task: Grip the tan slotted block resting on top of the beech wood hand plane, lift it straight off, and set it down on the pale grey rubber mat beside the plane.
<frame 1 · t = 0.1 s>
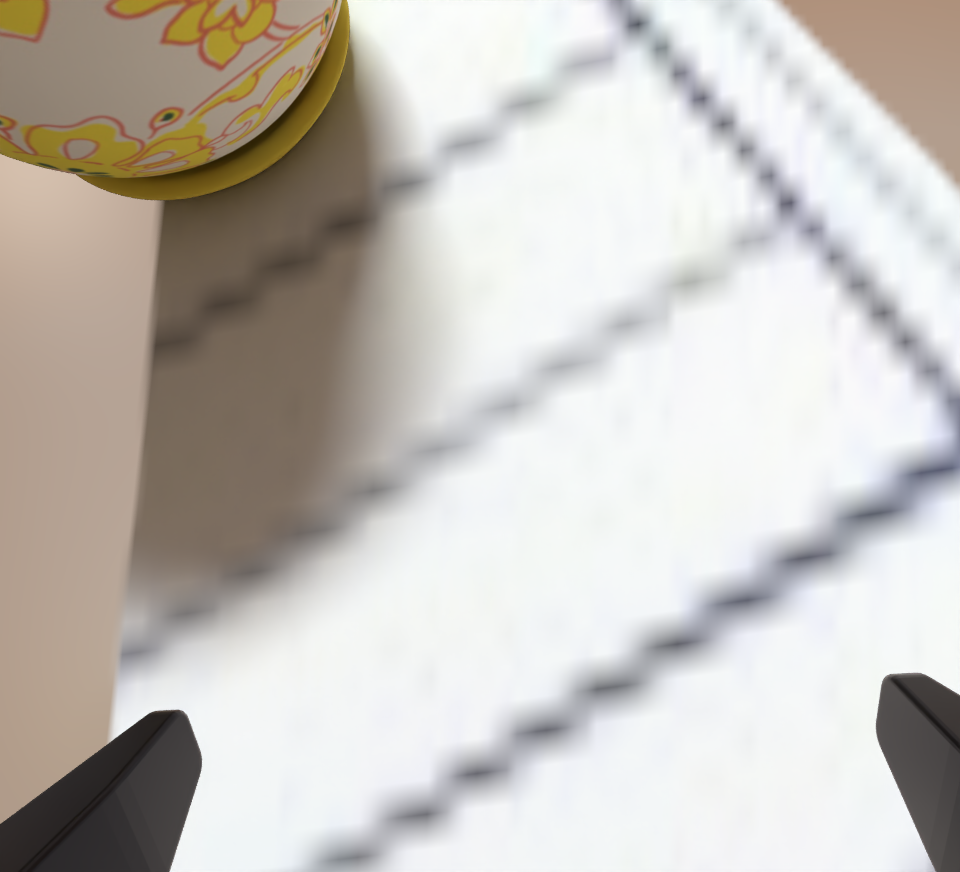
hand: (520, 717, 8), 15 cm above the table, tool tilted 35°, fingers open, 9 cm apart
flowerpot: (204, 72, 29), on the table
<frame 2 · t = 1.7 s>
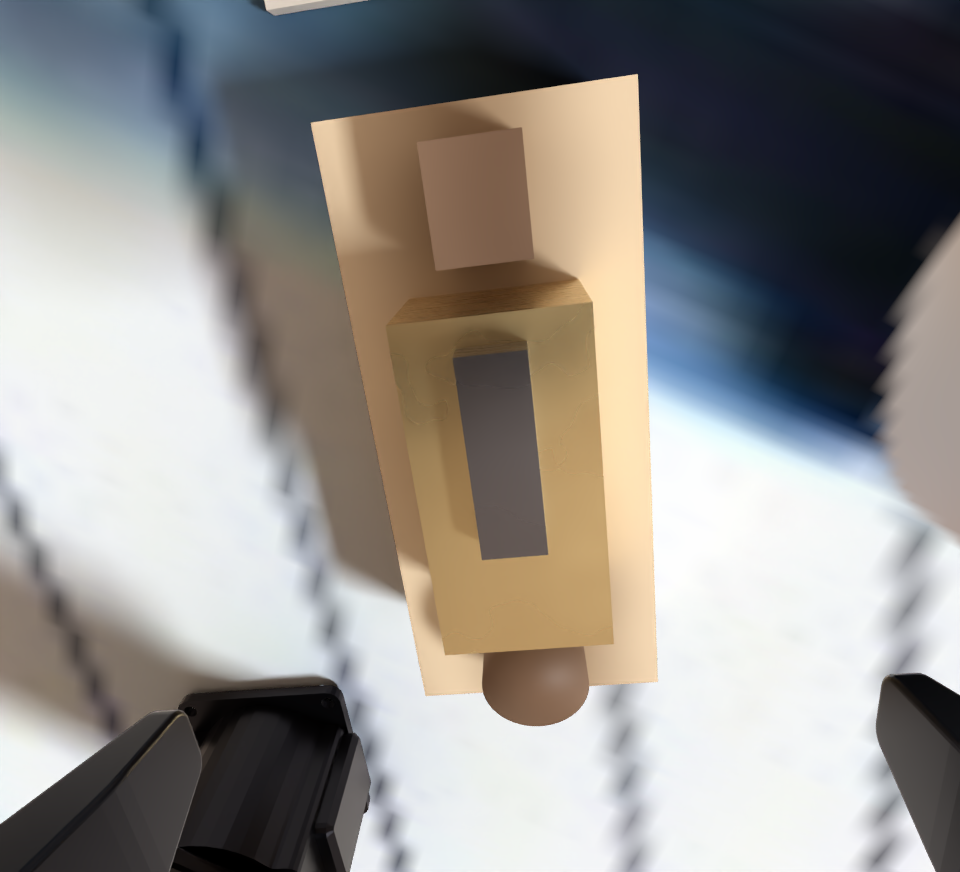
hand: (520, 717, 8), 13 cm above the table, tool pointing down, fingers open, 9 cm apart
tan slotted block: (511, 445, 17), point 4 cm above the table, touching plane body
plane body: (511, 396, 20), on the table
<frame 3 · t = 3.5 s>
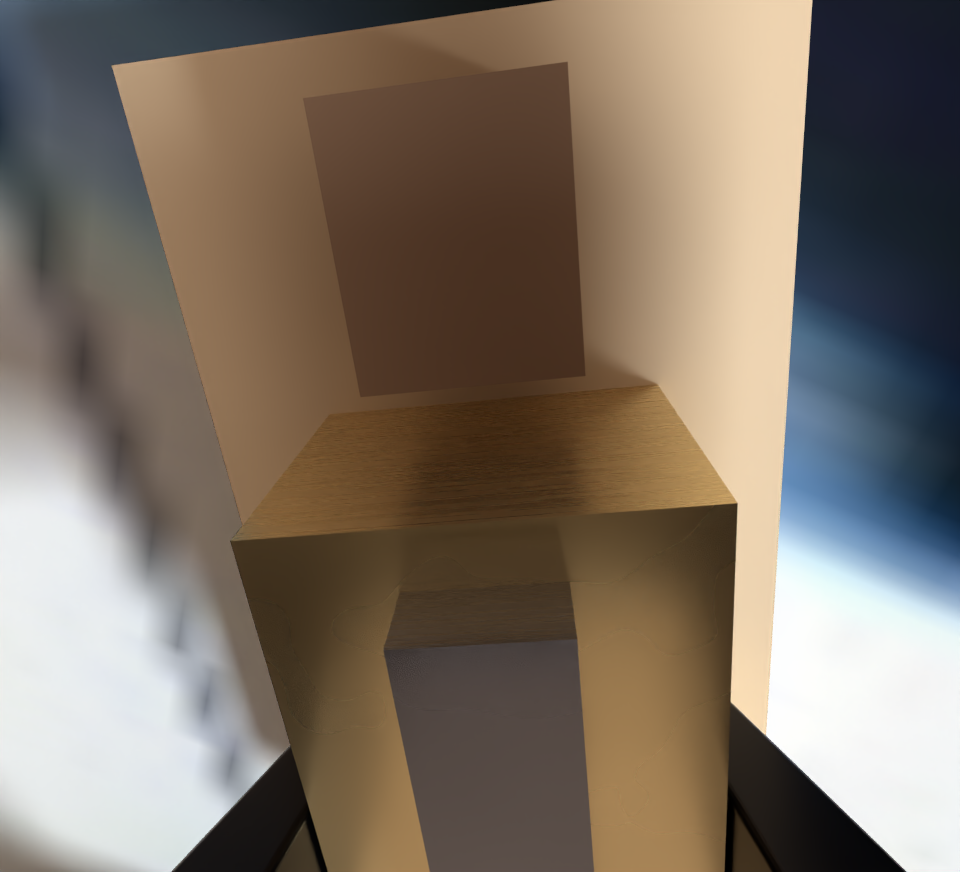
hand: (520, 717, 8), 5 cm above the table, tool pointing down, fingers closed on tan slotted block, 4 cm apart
tan slotted block: (519, 662, 9), point 4 cm above the table, touching gripper, plane body
plane body: (518, 523, 13), on the table
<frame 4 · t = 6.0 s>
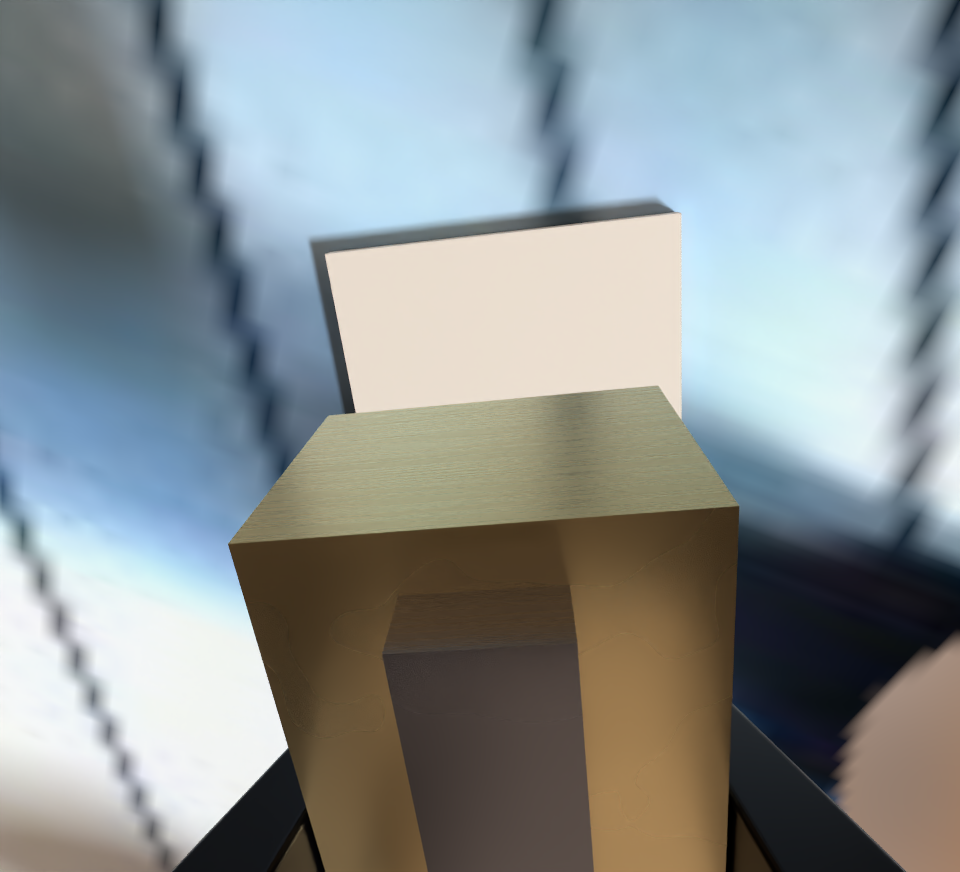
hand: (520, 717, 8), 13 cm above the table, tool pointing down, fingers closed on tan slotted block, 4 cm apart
mat: (515, 396, 20), on the table
tan slotted block: (519, 664, 9), point 12 cm above the table, touching gripper
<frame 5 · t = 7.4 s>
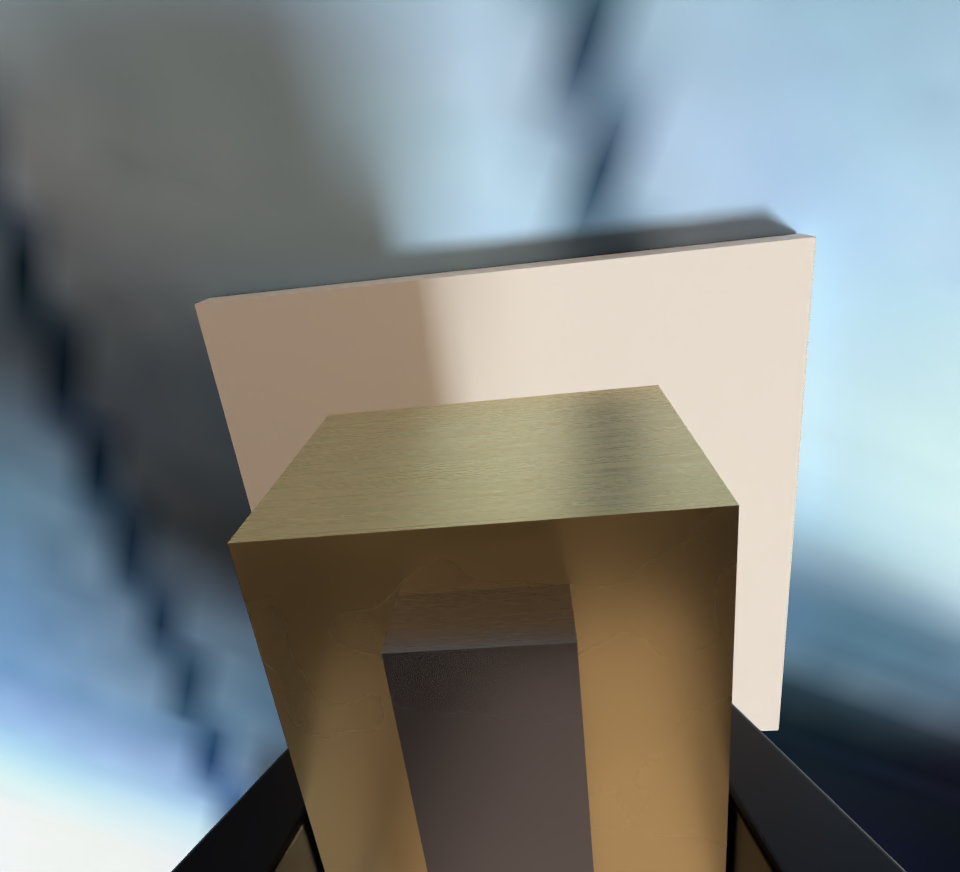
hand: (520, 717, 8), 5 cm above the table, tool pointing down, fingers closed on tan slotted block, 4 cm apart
mat: (519, 525, 13), on the table
tan slotted block: (519, 664, 9), point 4 cm above the table, touching gripper
when the fingers open (3 cm above the table, at t = 8.4 s): tan slotted block drops 2 cm, resting on mat.
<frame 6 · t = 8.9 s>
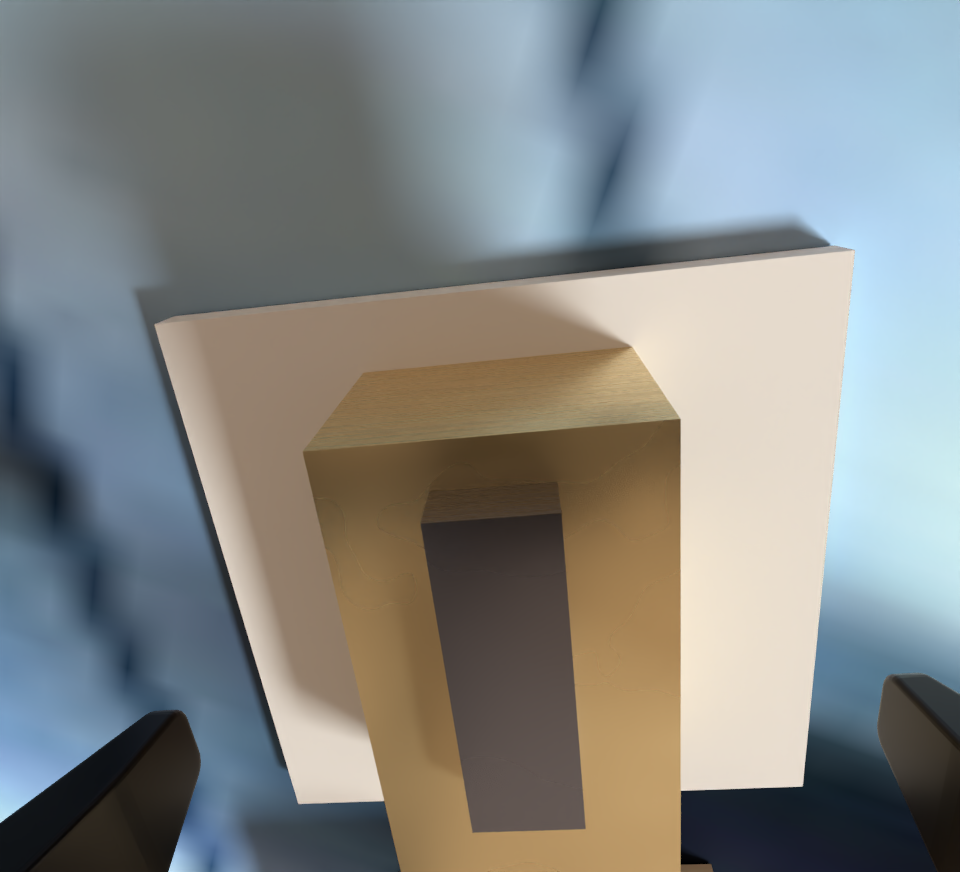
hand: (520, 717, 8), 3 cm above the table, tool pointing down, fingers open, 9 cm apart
mat: (518, 564, 12), on the table
tan slotted block: (519, 586, 11), point 1 cm above the table, touching mat
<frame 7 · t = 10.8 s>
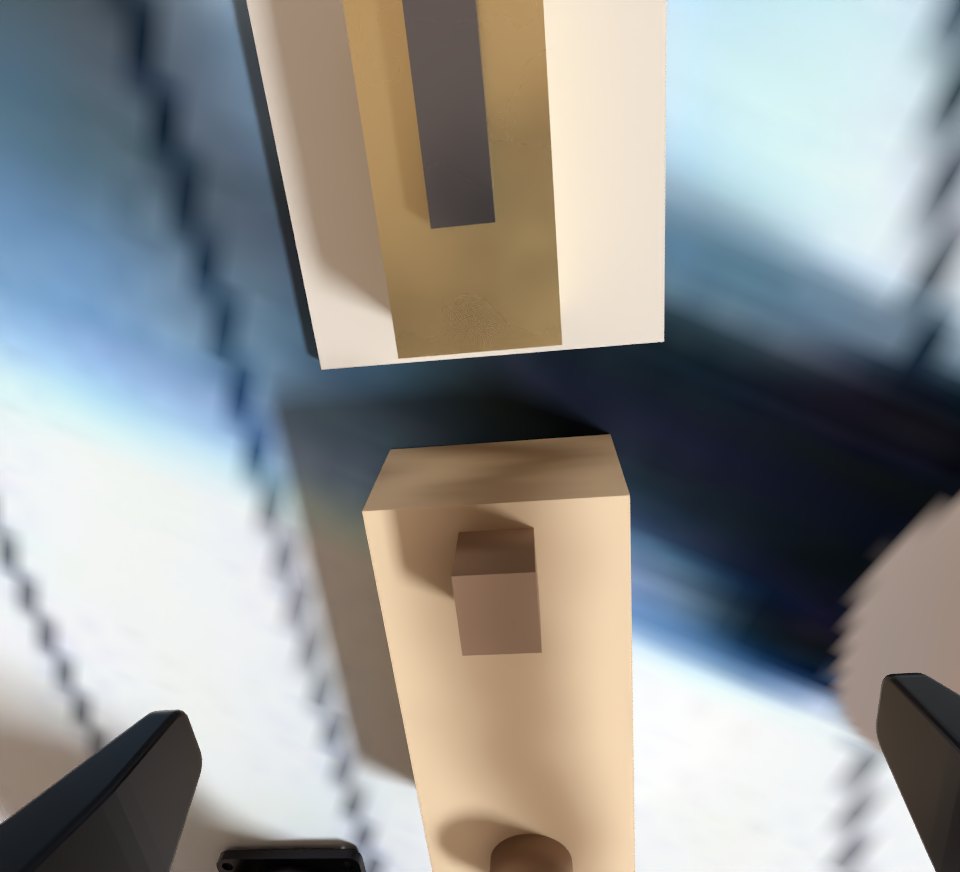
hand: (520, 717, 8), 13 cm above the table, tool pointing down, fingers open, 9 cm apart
mat: (471, 170, 17), on the table
tan slotted block: (470, 172, 17), point 1 cm above the table, touching mat
plane body: (518, 642, 24), on the table
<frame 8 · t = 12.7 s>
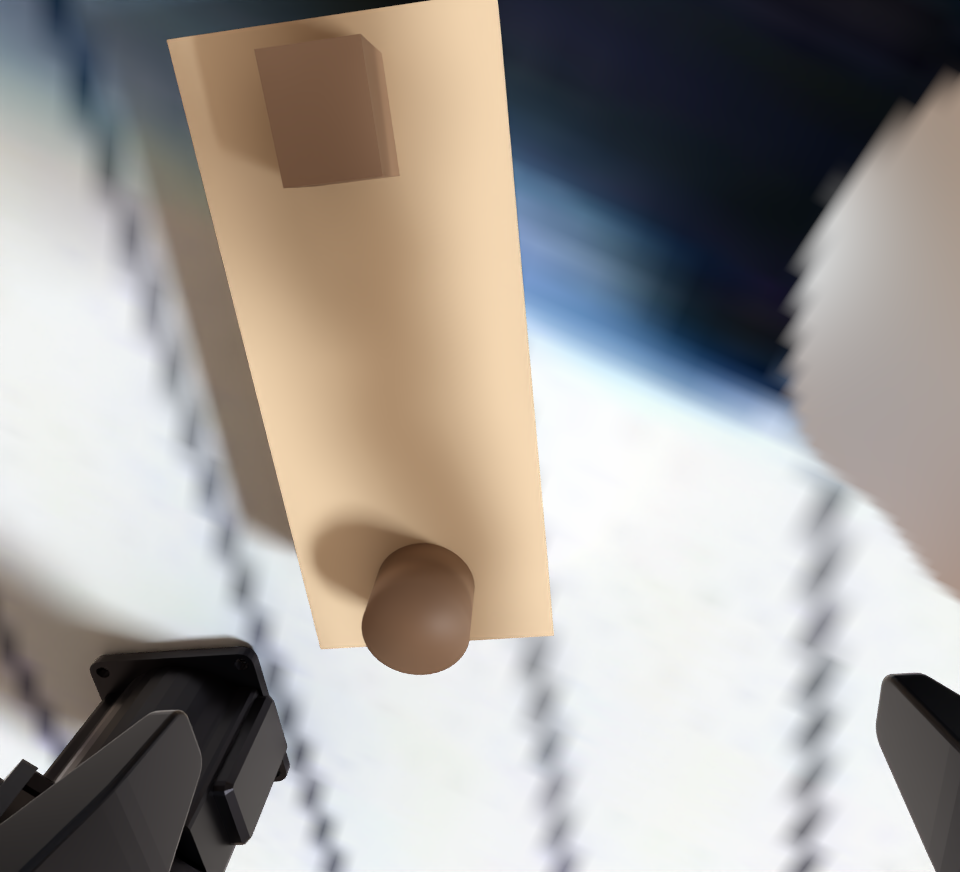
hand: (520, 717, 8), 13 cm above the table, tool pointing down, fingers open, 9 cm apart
plane body: (414, 346, 20), on the table
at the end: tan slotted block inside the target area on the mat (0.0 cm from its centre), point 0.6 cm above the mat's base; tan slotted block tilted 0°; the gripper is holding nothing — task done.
